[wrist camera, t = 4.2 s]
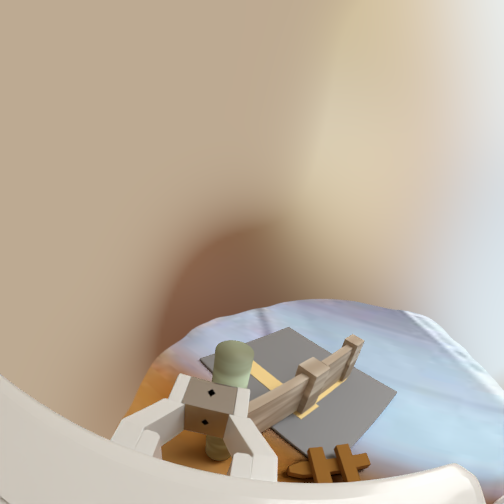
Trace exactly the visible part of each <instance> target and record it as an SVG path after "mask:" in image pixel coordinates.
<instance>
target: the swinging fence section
mask: <svg viewBox="0 0 504 504" xmlns="http://www.w3.org/2000/svg"><path fill="white" fill-rule="evenodd" d="M253 358H254V351H253V349H252V348H251V347H250V346H249V345H247V344H245V343H243V342H240V341H233V340H229V341H224V342H221V343H219V344H218V345H217V346H216V350H215V359H214V367H213V377H212V382H214V383H220V384H224V385H229V386H234V387H240V388H245V389H247V386H248V381H249V377H250V372H251V368H252V363H253ZM329 371H330V367H329V366H327V365H325V364H324V363H322V362H321V361H319V360H318V359H316V358H314V357H312V358H310V359H308V360H306V361H305V362H303V363H301V364H299V365H298V368H297V371H296V374H295V377H294V378H292V379H291V380H289V381H287V382H285V383H284V384H282V385H280V386H278V387H276V388H275V389H273V390H271V391H269V392H267V393H265V394H263V395H261V396H259V397H258V398H256V399H254V400H252V401H250V402H249V406H248V415H247V418H251V420H252V421H253V423H254V424H255V426H256V427H257V429H258V430H259V432H260V433H261V432H263V431H265V430H267V429H268V428H270V427H271V426H273V425H275V424H276V423H278V422H280V421H281V420H283V419H284V418H286V417H287V416H289V415H290V414H292V413H293V412H295V411H297V412H299V413H300V414H303V413H304V412H305V411H307V410H308V409H310V408H311V407H312V406H314V405H315V403H316V401H317V399H318V396H319V394H320V392H321V390H322V387H323V385H324V383H325V380H326V378H327V376H328V373H329ZM205 451H206V454H207V455H208V456H209V457H210V458H212V459H214V460H218V461H222V460H226V459H228V458H229V457H230V456H231V455H230V453H229V451H228V449H227V447H226V445H225V443H224V440H223V439H222V438H218V437H214V436H210V435H207V436H206V448H205Z"/></svg>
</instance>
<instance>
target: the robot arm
mask: <svg viewBox="0 0 504 504" xmlns="http://www.w3.org/2000/svg"><path fill="white" fill-rule="evenodd" d="M249 398H250V389H245V388H240V387H234V386H229V385H224V384H220V383H214V382H210V381H206V380H203V379H199V378H195V377H191V376H188V375H184V374H181V373H180V374H179V375H178V377H177V380H176V382H175V384H174V386H173V389H172V391H171V393H170V395H169V398H168V399H166V398H164V399H162V400H160V401H158V402H156V403H154V404H152V405H150V406H148V407H146V408H144V409H142V410H140V411H138V412H136V413H134V414H132V415H130V416H128V417H126V418H124V419H122V420H121V422H120V424H119V426H118V428H117V429H116V431H115V433H114V435H113V437H112V438H111V440H108V439H106V438H104V437H102V436H99V435H97V434H95V433H93V432H91V431H89V430H87V429H85V428H83V427H81V426H79V425H77V424H75V423H74V422H72V421H70V420H68V419H66V418H65V417H63V416H61V415H59V414H57V413H56V412H54V411H53V410H51V409H49V408H48V407H46V406H45V405H43V404H41V403H40V402H38V401H37V400H35V399H34V398H32V397H31V396H29V395H28V394H26V393H25V392H24V391H22V390H21V389H19V388H18V387H17V386H15V385H14V384H13V383H11V382H10V381H9V380H7V379H6V378H5V377H4V376H3V375H1V374H0V504H486V502H485V499H484V496H483V492H482V489H481V486H480V484H479V482H478V480H477V478H476V477H475V476H474V475H473V474H472V473H471V472H469V471H468V470H466V469H465V468H463V467H462V466H460V465H458V464H456V463H452V464H448V465H444V466H441V467H437V468H433V469H429V470H425V471H421V472H416V473H412V474H407V475H401V476H396V477H390V478H383V479H375V480H367V481H356V482H342V483H289V482H277V464H278V457H277V456H276V454H275V453H274V452H273V450H272V449H271V447H270V446H269V445H268V443H267V442H266V440H265V439H264V437H263V436H262V435H261V433H260V432H259V430H258V429H257V427H256V426H255V424H254V423H253V421H252V420H251V418H247V415H248V406H249ZM183 429H184V430H188V431H193V432H197V433H202V434H206V435H210V436H214V437H218V438H222V439H223V440H224V443H225V445H226V447H227V449H228V451H229V453H230V455H231V457H232V461H231V464H230V467H229V470H228V472H227V475H222V474H216V473H212V472H207V471H202V470H198V469H194V468H190V467H186V466H182V465H178V464H175V463H171V462H168V461H165V460H162V452H161V446H163V445H164V444H165V443H167V442H168V441H170V440H171V439H172V438H174V437H175V436H176V435H178V434H179V433H180V432H182V431H183ZM493 504H504V496H502V497H501V498H499V499H498V500H497V501H495V502H494V503H493Z"/></svg>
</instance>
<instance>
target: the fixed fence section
mask: <svg viewBox="0 0 504 504" xmlns="http://www.w3.org/2000/svg"><path fill="white" fill-rule="evenodd" d="M363 343H364V340H362V339H360V338H359V337H357V336H355V335H353V334H352V335H350V336H349V337H347V338H346V339H345V341H344V343H343V346H342V348H341V349H339V350H338V351H336V352H335V353H333V354H332V355H330V356H329V357H327V358H325V359H324V360H322V361H321V362H322V363H324V364H325V365H327V366H329V367H330V371H329V373H328V376H327V378H326V380H325V383H324V385H323V387H322V390H321V392H320V394H319V395H321V394H322V393H323V392H325V391H326V390H327V389H329V388H330V387H331V386H333V385H334V384H335V383H336V382H338V381H339V380H340V381H341V382H343V381H344V380H345V379H346V378H348V377H349V376H350V373H351V371H352V369H353V367H354V365H355V362H356V360H357V358H358V355H359V353H360V351H361V348H362V346H363Z"/></svg>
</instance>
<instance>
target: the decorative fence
mask: <svg viewBox="0 0 504 504" xmlns="http://www.w3.org/2000/svg"><path fill="white" fill-rule="evenodd" d="M334 452H335V455H336V458H333V459H326V457H325V454H324V451H323V447H313V448H309V449H308V450H307V455H308V459H309V461H304V462H299V463H296V464H294V465H291V466H289V467H288V468H287V475H288V476H292V477H297V478H309V477H313V479H314V483H333V481H332V478H331V475H332V474H339V473H341V475H342V478H343V481H344V482H356V481H361V480H360V477H359V474H358V471H357V470H360V469H365V468H368V466H369V465H370V461H369V459H368V456H367V454H366V453H363V454H358V455H352V453H351V450H350V447H349V444H341V445H336V446H335V448H334Z"/></svg>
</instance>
